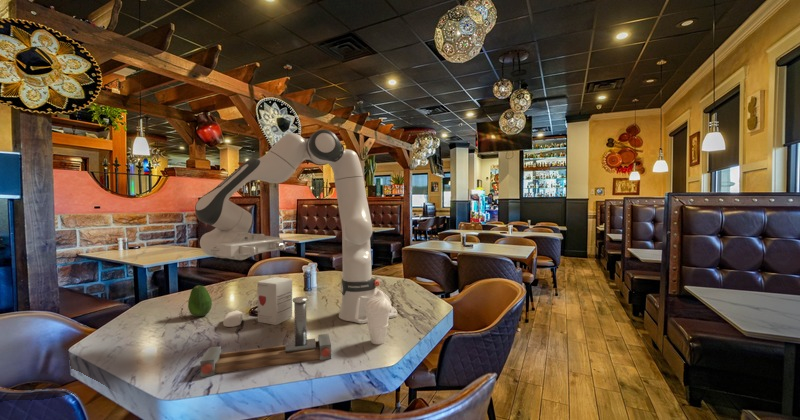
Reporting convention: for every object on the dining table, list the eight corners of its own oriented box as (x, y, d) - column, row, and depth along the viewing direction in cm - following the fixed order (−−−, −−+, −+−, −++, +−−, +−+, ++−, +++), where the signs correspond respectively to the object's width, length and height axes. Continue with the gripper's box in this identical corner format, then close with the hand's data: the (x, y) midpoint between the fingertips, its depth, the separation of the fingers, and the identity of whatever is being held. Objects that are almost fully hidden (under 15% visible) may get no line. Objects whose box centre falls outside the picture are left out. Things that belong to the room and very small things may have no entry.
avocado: (189, 315, 128) (188, 284, 128) (212, 311, 132) (211, 282, 132) (187, 321, 121) (186, 289, 121) (211, 317, 125) (211, 286, 125)
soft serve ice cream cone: (370, 349, 97) (370, 295, 96) (360, 339, 104) (360, 289, 104) (396, 343, 100) (395, 292, 100) (384, 334, 108) (384, 286, 108)
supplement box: (256, 322, 120) (256, 281, 120) (274, 314, 128) (274, 276, 128) (276, 325, 117) (275, 283, 116) (293, 317, 125) (292, 278, 125)
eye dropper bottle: (236, 312, 116) (240, 303, 127) (220, 321, 114) (226, 311, 125) (243, 322, 116) (246, 312, 128) (227, 331, 115) (232, 320, 126)
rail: (328, 346, 99) (328, 333, 99) (331, 359, 91) (331, 344, 91) (209, 362, 89) (208, 347, 89) (200, 378, 81) (199, 362, 81)
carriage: (315, 345, 96) (314, 295, 95) (315, 351, 92) (315, 299, 92) (286, 349, 93) (285, 298, 93) (285, 355, 89) (284, 301, 89)
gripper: (206, 238, 95) (238, 241, 89) (265, 233, 113) (294, 234, 107) (207, 260, 95) (238, 264, 89) (265, 251, 113) (295, 254, 107)
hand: (269, 248), depth 98 cm, fingers open, 8 cm apart
